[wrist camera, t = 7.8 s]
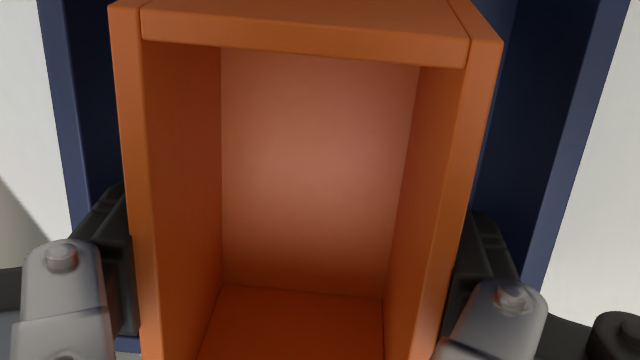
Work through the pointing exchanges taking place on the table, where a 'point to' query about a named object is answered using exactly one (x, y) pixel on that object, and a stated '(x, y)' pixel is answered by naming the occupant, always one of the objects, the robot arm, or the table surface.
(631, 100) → the table surface
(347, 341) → the small bin
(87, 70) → the tote
